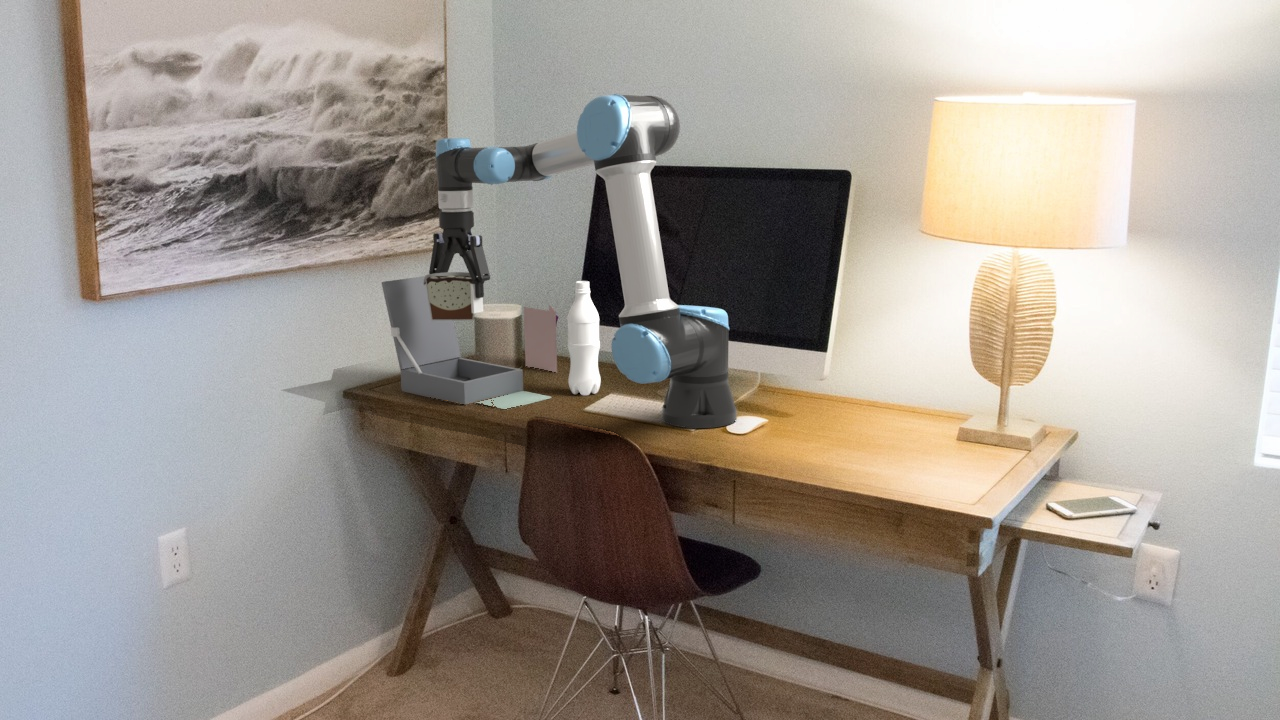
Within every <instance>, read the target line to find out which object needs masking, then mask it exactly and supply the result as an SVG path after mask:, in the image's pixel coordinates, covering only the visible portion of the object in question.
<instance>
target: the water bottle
mask: <svg viewBox="0 0 1280 720" xmlns="http://www.w3.org/2000/svg"><path fill="white" fill-rule="evenodd" d="M574 290H575V291H574V293H575V297H574V300H573V303H572V305H571V307H570V309H569V311H568V314H567V319H566V322H567V349H568V352H569V359H570V360H569V361H570V366H569V367H570V368H569V375H568V379H567V380H568V386H569V390H570V391H571V393H572V394H573V395H578V393H580V395H581V396H589V395H590V394H594V395H595V394H596V395H597V393H598V392H599V390H600V387H601V383H602V380H601V378H602V377H601V374H600V370H599V352H600V348H601V341H600V321H601V320H600V316H599V312H598V310H597V308H596V306H595V305H594V302H593V300H592V298H591V288H590V281H588V280H578V281H575V289H574Z"/></svg>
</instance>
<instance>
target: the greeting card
mask: <svg viewBox="0 0 1280 720" xmlns="http://www.w3.org/2000/svg"><path fill="white" fill-rule="evenodd" d="M556 313H557V312H556V310H555V309H554V308H553V306H551V305H550V304H549V305H548V310H546V309H540V308H533V307H526V306H523V323H524V324H523V325H524V329H523V330H524V352H525V353H524V357H525V359H524V360H525V367H526V366H528V367H527V368H530V367H534V368H533V369H535V368H539V369H538V370H540V369H544V370H548V371H547V372H549V371H552V372H551V373H554V372H556V373H555V374H558V355H557V354H558V352H557V351H558V350H557V324H558V321H559V317H560V316H558V315H557V314H556ZM544 370H543V371H544Z"/></svg>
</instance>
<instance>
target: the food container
mask: <svg viewBox="0 0 1280 720" xmlns="http://www.w3.org/2000/svg"><path fill="white" fill-rule="evenodd" d="M424 276H425V278H424V282H423V285H425V284H426V288H427V294H428V301H429V307H430V314H431V320H432V321H474V320H475V313H472V309H471V287H470V284H471V282H472V278H471V276H470V274H469V272H465V271H461V272H460V271H459V272H458V271H457V272H456V271H453V272H451V271H450V272H449V271H448V272H446V273H434V274H429V273H428V274H426V275H424Z"/></svg>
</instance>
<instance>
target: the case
mask: <svg viewBox="0 0 1280 720" xmlns="http://www.w3.org/2000/svg"><path fill="white" fill-rule="evenodd" d="M424 278H425V275H424V276H423V275H422V276H417V277H416V276H415V277H409V278H402V279H400V278H399V279H394V280H393V279H392V280H386V281H382V282H380V283H381V287H382V293H383V296H384V300H385V305H386V310H387V315H388V319H389V323H390V336H391V337H392V338H393V341H394V342H393V343H394V347H395V352H396V357H397V361H398V365H399V369H400V385H401V386H400V387H401V392H404V393H409V394H413V395H418V396H422V397H426V398H430V397H431V398H430V399H434V398H436V399H435V400H438V399H442V400H441V401H443V400H448V401H453V402H458V403H462V404H469V403H473V402H477V401H481V400H485V399H489V398H494V397H498V396H503V395H507V394H512V393H516V392H520V391H524V373H523V369H520V368H515V367H510V366H505V365H501V364H495V363H490V362H485V361H480V360H475V359H468V358H466V357H465V358H463V357H462V355H461V349H460V344H459V341H458V340H459V339H458V336H457V331H456V328H455V327H456V326H455V322H454V321H455V320H454V321H432V320H431V314H430V307H429V301H428V294H427V288H426V284H425V285H423V282H424Z"/></svg>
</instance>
